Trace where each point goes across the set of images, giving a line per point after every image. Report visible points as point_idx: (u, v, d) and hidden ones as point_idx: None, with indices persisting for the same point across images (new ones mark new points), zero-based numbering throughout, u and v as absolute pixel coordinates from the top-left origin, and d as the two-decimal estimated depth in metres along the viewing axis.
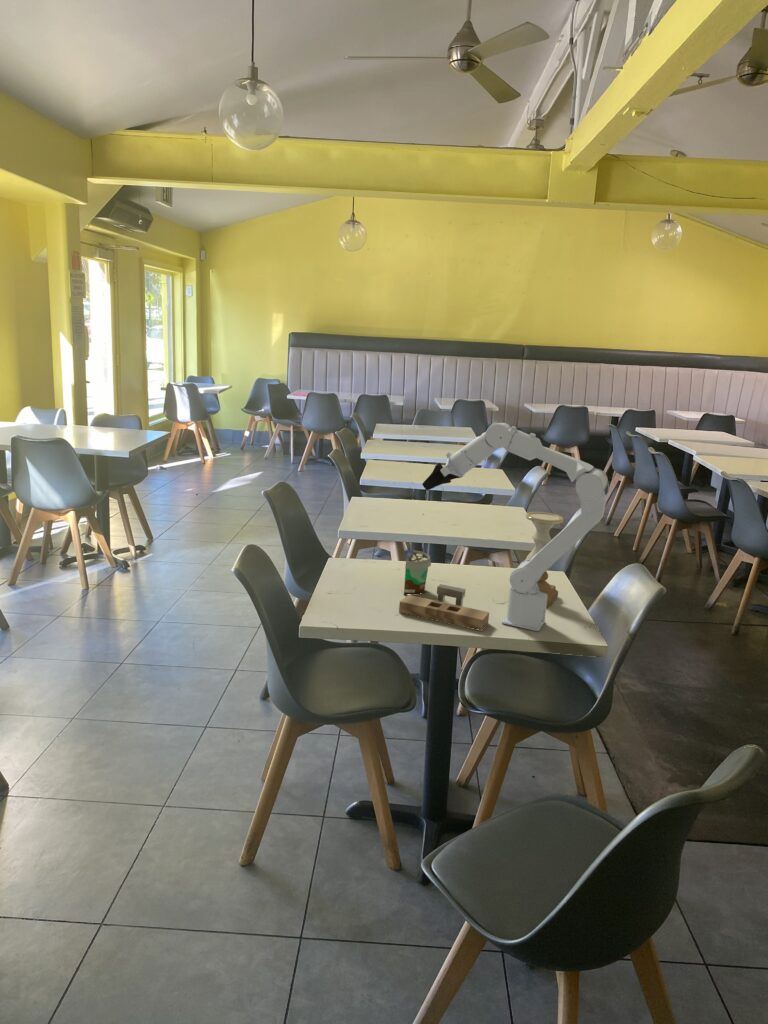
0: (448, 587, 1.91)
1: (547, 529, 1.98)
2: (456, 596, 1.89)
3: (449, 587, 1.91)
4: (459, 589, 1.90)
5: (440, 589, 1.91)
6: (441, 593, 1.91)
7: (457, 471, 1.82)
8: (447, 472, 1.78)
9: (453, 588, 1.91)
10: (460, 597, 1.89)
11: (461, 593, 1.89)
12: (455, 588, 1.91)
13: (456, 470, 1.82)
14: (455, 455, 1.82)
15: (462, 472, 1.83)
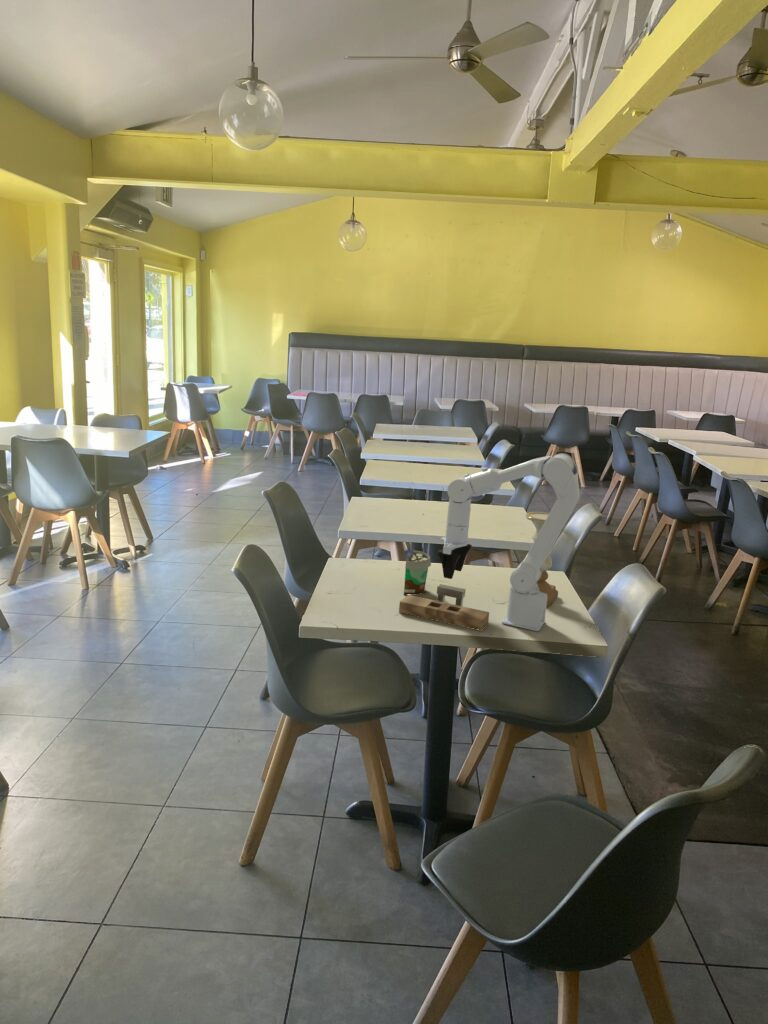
0: (448, 587, 1.91)
1: None
2: (456, 596, 1.89)
3: (449, 587, 1.91)
4: (459, 589, 1.90)
5: (440, 589, 1.91)
6: (441, 593, 1.91)
7: (458, 543, 1.85)
8: (449, 549, 1.81)
9: (453, 588, 1.91)
10: (460, 597, 1.89)
11: (461, 593, 1.89)
12: (455, 588, 1.91)
13: (457, 543, 1.85)
14: (446, 534, 1.87)
15: (463, 540, 1.86)
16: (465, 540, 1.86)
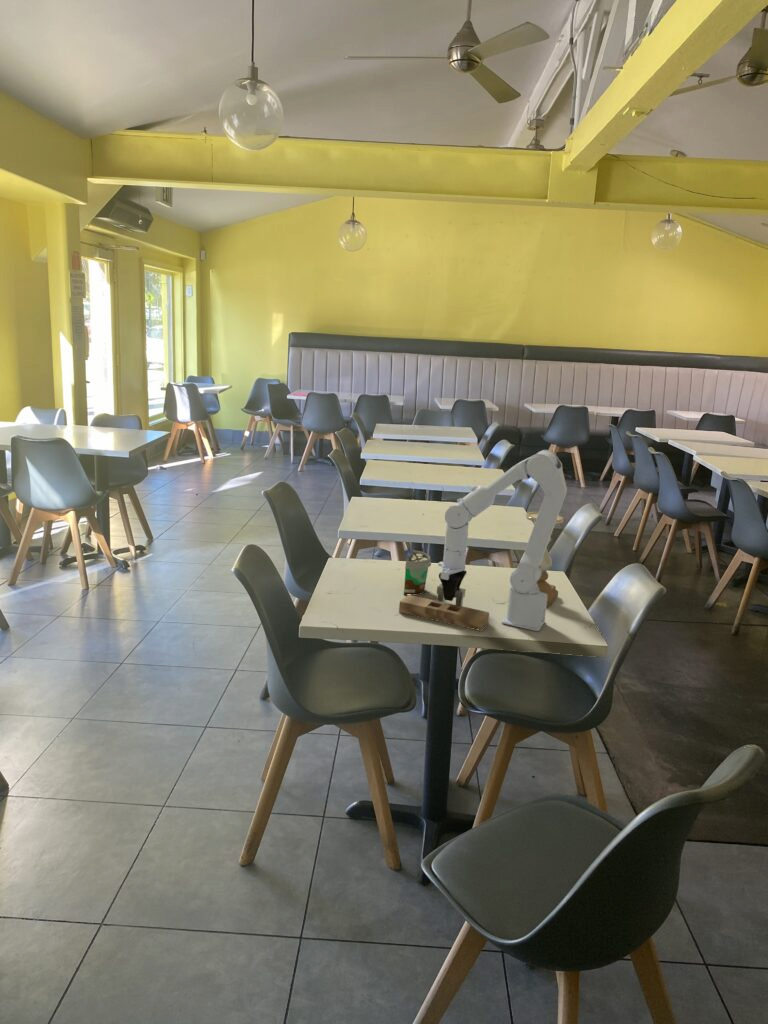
0: None
1: None
2: (456, 596, 1.89)
3: None
4: (459, 589, 1.90)
5: (440, 589, 1.91)
6: (441, 593, 1.91)
7: (456, 568, 1.87)
8: (446, 575, 1.83)
9: None
10: (460, 597, 1.89)
11: (461, 593, 1.89)
12: None
13: (454, 568, 1.87)
14: (444, 559, 1.88)
15: (460, 565, 1.87)
16: (462, 565, 1.88)
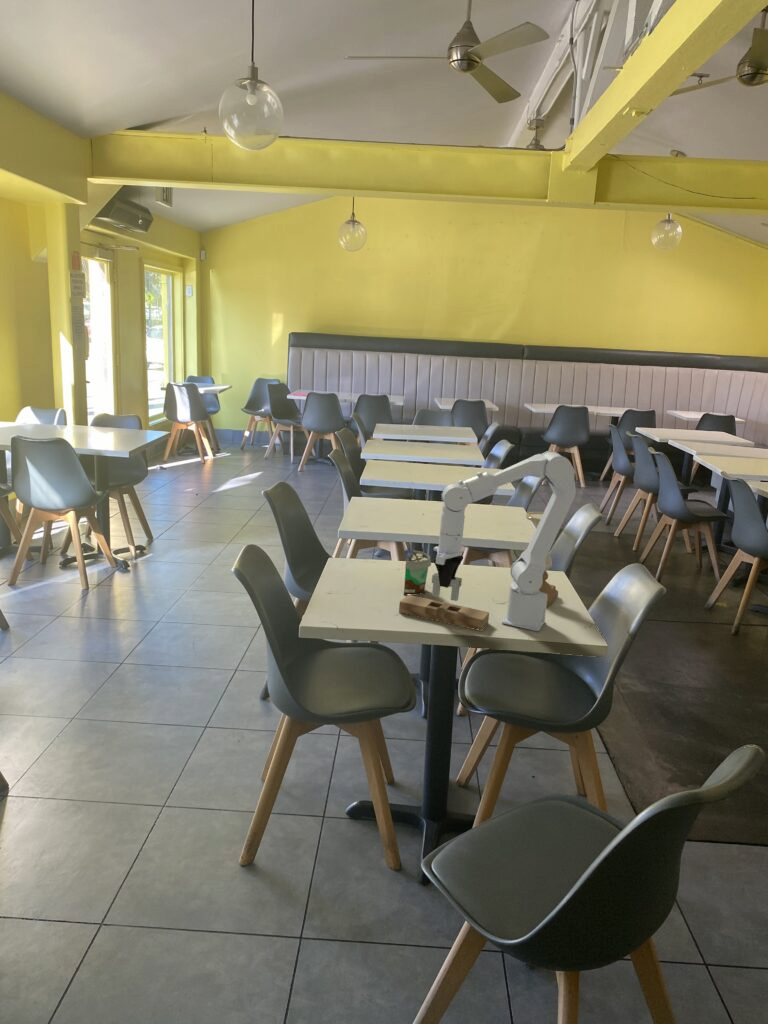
0: None
1: None
2: (452, 585, 1.81)
3: None
4: (455, 578, 1.81)
5: (435, 578, 1.82)
6: (436, 582, 1.82)
7: (452, 553, 1.78)
8: (442, 559, 1.74)
9: None
10: (456, 586, 1.80)
11: (457, 582, 1.80)
12: (451, 577, 1.82)
13: (450, 553, 1.78)
14: (439, 543, 1.79)
15: (457, 550, 1.78)
16: (459, 550, 1.79)
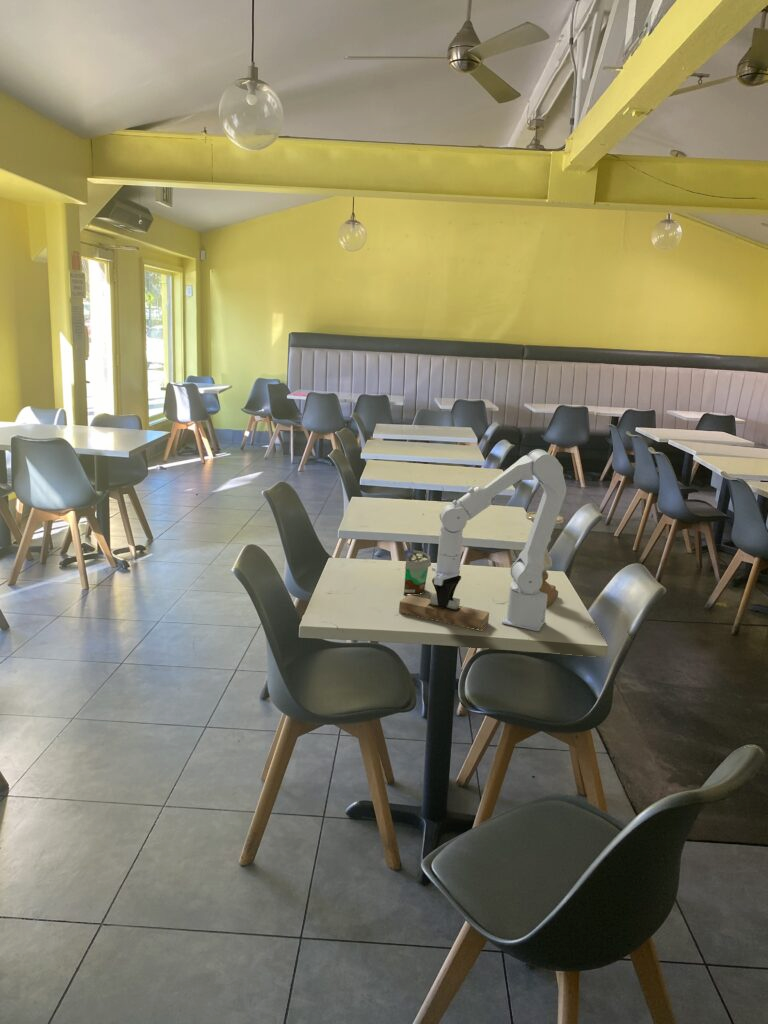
0: None
1: None
2: (450, 606, 1.82)
3: None
4: (453, 599, 1.83)
5: (433, 599, 1.83)
6: (435, 603, 1.83)
7: (450, 573, 1.79)
8: (440, 580, 1.75)
9: None
10: (454, 607, 1.81)
11: (455, 603, 1.81)
12: (449, 598, 1.83)
13: (448, 573, 1.79)
14: (437, 563, 1.80)
15: (454, 570, 1.79)
16: (457, 570, 1.80)
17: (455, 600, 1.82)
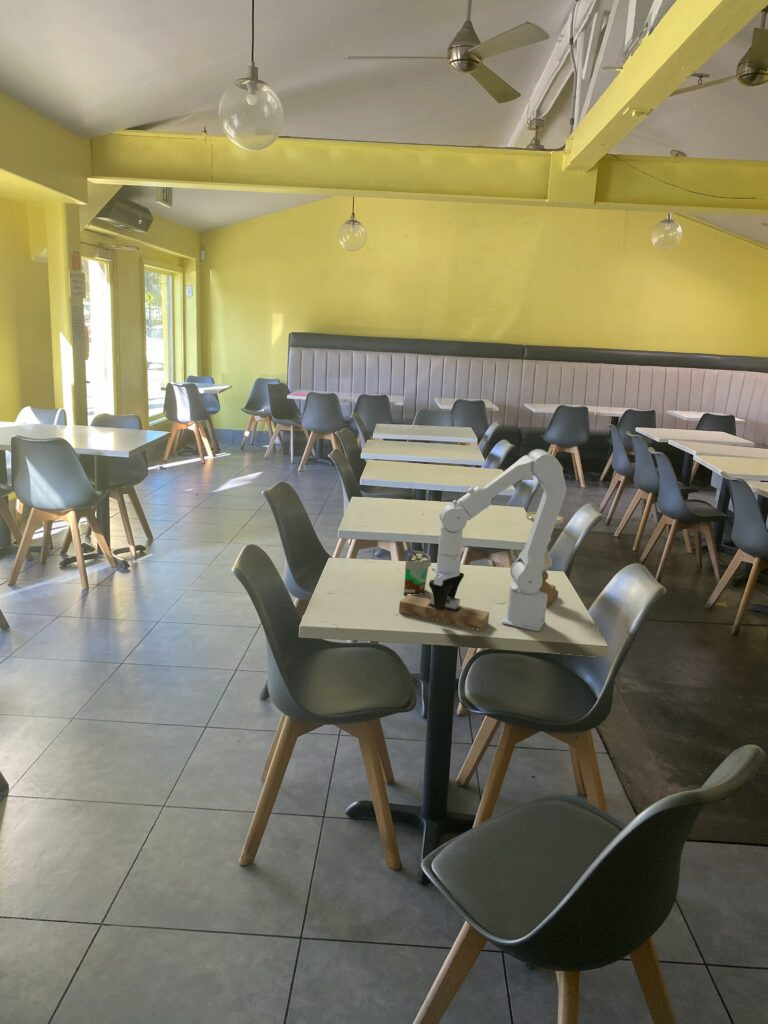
0: None
1: None
2: (450, 606, 1.82)
3: None
4: (453, 599, 1.83)
5: (433, 599, 1.83)
6: None
7: (450, 573, 1.79)
8: (440, 580, 1.75)
9: (447, 597, 1.83)
10: (454, 607, 1.81)
11: (455, 603, 1.81)
12: (449, 598, 1.83)
13: (448, 573, 1.79)
14: (437, 563, 1.80)
15: (455, 570, 1.79)
16: (457, 570, 1.80)
17: (455, 600, 1.82)
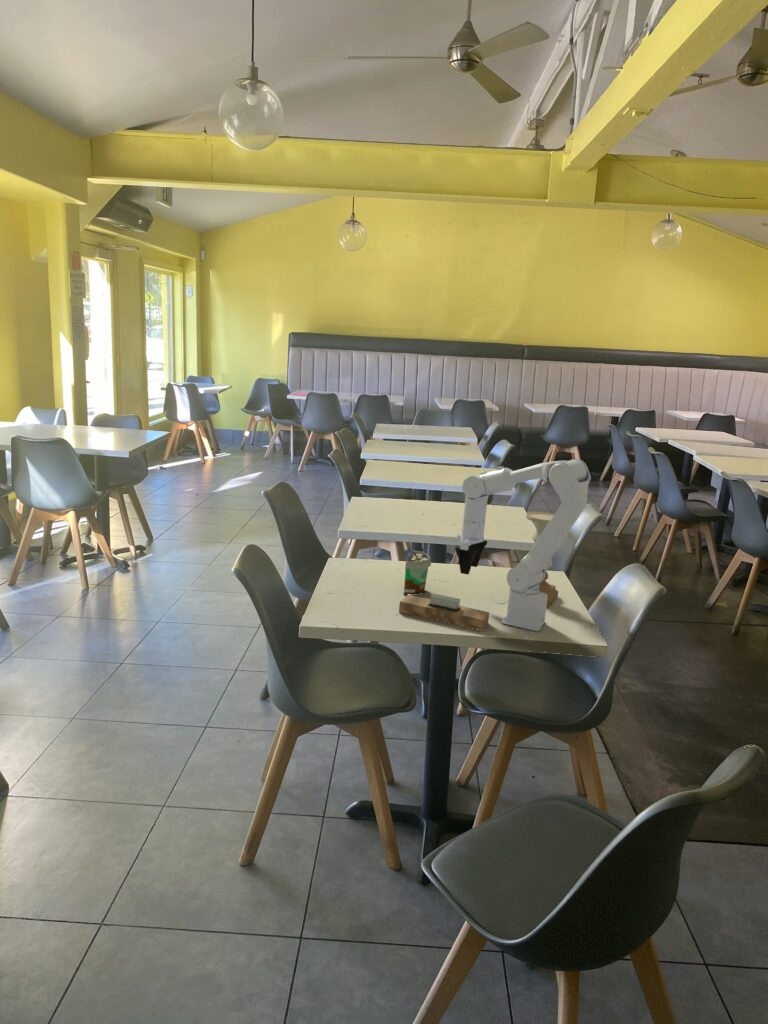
0: (442, 597, 1.84)
1: None
2: (450, 606, 1.82)
3: (443, 597, 1.84)
4: (453, 599, 1.83)
5: (433, 599, 1.83)
6: (435, 603, 1.83)
7: (475, 539, 1.88)
8: (466, 545, 1.84)
9: (447, 597, 1.83)
10: (454, 607, 1.81)
11: (455, 603, 1.81)
12: (449, 598, 1.83)
13: (473, 539, 1.88)
14: (463, 530, 1.90)
15: (479, 537, 1.88)
16: (481, 536, 1.89)
17: (455, 600, 1.82)
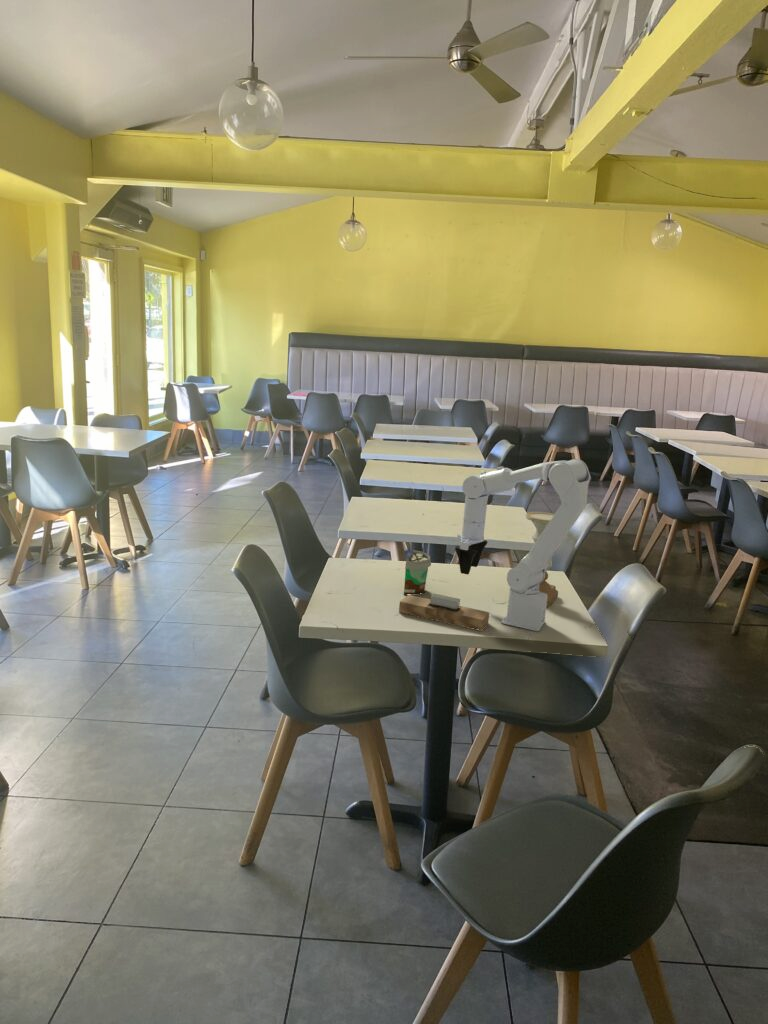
0: (442, 597, 1.84)
1: None
2: (450, 606, 1.82)
3: (443, 597, 1.84)
4: (453, 599, 1.83)
5: (433, 599, 1.83)
6: (435, 603, 1.83)
7: (475, 539, 1.88)
8: (466, 545, 1.84)
9: (447, 597, 1.83)
10: (454, 607, 1.81)
11: (455, 603, 1.81)
12: (449, 598, 1.83)
13: (473, 539, 1.88)
14: (463, 530, 1.90)
15: (479, 537, 1.88)
16: (481, 536, 1.89)
17: (455, 600, 1.82)
